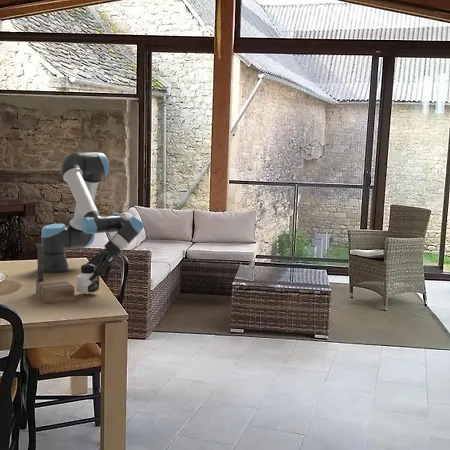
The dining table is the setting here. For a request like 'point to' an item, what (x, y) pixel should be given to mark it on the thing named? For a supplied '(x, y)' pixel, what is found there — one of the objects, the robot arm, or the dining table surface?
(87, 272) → the medicine bottle
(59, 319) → the dining table surface
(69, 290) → the wooden stand
